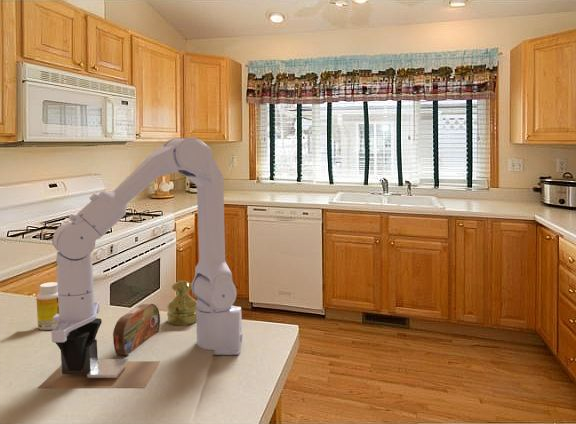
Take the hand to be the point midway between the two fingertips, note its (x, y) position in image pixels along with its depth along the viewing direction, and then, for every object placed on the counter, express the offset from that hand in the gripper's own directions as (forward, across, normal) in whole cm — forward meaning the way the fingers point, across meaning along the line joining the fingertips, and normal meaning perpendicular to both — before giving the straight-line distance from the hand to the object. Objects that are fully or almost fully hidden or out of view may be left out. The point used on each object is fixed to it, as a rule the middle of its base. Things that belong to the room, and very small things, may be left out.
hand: (80, 364), depth 81 cm
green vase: (+3, -30, +12) cm, 32 cm away
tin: (+3, -14, +6) cm, 16 cm away
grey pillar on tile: (+1, 0, +3) cm, 3 cm away
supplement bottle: (+3, -26, -18) cm, 32 cm away
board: (+3, 0, +4) cm, 5 cm away
